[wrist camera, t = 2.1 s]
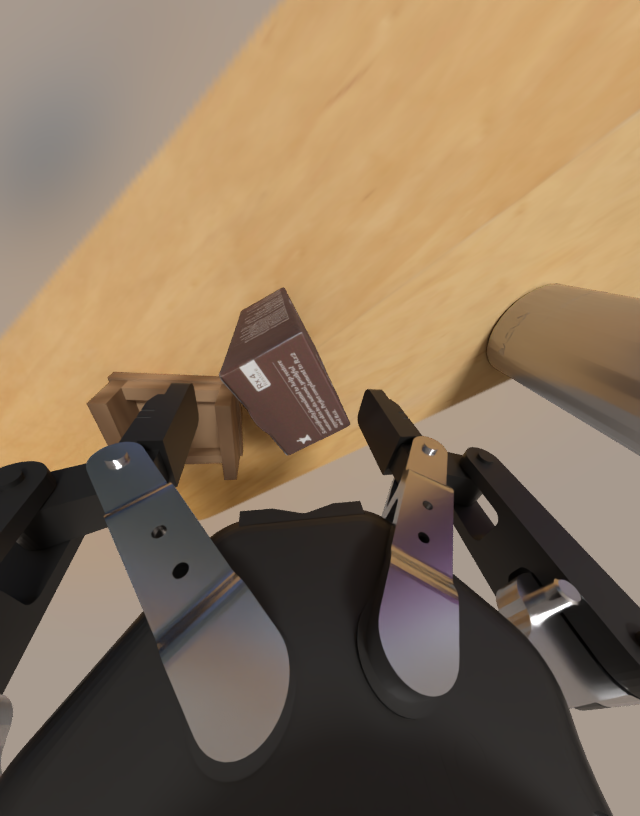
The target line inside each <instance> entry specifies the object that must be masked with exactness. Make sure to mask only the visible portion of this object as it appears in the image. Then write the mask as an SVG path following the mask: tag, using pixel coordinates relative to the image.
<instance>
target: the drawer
mask: <svg viewBox="0 0 640 816" xmlns="http://www.w3.org/2000/svg"><path fill="white" fill-rule="evenodd" d="M108 380H109V383H108V384H107V385H106V386H105V387H104V388H103V389H101V390H100V391H99V392H98V393H97V394H96V395H95V396H94V397H93V398H92V399H91V400H90V401H89V402H88V403H87V405H88V407H89V409H90V411H91V413H92V415H93V417H94V419H95V421H96V423H97V425H98V427H99V429H100V431H101V433H102V435H103V437H104V439H105V441H106V443H107V445H108V446H109V445H112V444H115V443H119V441H120V440H121V438H122V437H123V435H124V434H125V432H126V431H127V430H128V428H129V427H130V425H131V424H132V422H133V421H134V419H135V418H137V415H138V413H139V412H140V411H141V409H142V408H143V406H144V405H145V403H146V402H147V401H148V400H149V399H151V398H152V397H154V396H155V395H157V394H165V393H166V391H167V389H168V388H169V386H170V384H171V383H192V384H193V386H194V390H195V396H196V401H197V407H198V413H199V422H198V427H197V430H196V433H195V436H194V439H193V442H192V444H191V447H190V450H189V453H188V456H187V459H186V462H185V464H207V463H222V465H223V472H224V480H235V479H237V474H238V467H239V459H240V456H242V455H243V438H242V421H241V404H240V401H239V400H238V399H237V398H236V397H235V396H234V394H233V393H232V392H231V391H230V390H229V389H228V388H227V386H226V385H225V384H224V383H223V382H222V381H221V379H220V377H217V376H194V375H170V374H147V373H124V372H113V373H112V374H111V375H110V376H109V377H108Z"/></svg>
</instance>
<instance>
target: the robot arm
mask: <svg viewBox="0 0 640 816" xmlns="http://www.w3.org/2000/svg"><path fill="white" fill-rule="evenodd" d="M487 356H488V360H489V362H490V364H491V365H492V366H493V367H494V368H496V369H497V370H499V371H501V372H502V373H504V374H506V375H507V376H509V377H511V378H512V379H514V380H515V381H517V382H519V383H521V384H522V385H523V386H525V387H527V388H529V389H530V390H532V391H533V392H535V393H537V394H538V395H540V396H542V397H543V398H545V399H547V400H548V401H550V402H551V403H553V404H555V405H557V406H558V407H560V408H561V409H563V410H565V411H566V412H568V413H570V414H572V415H573V416H575V417H576V418H578V419H580V420H581V421H583V422H585V423H586V424H588V425H590V426H591V427H593V428H595V429H596V430H598V431H600V432H601V433H603V434H604V435H606V436H608V437H610V438H611V439H613V440H614V441H616V442H618V443H620V444H621V445H623V446H624V447H626V448H628V449H629V450H631V451H633V452H634V453H636V454H637V455H639V456H640V299H639V298H634V297H628V296H622V295H617V294H611V293H607V292H601V291H596V290H590V289H584V288H578V287H573V286H567V285H561V284H549V285H545V286H542V287H539V288H537V289H535V290H533V291H531V292H529V293H527V294H526V295H525V296H523V297H522V298H520V299H519V300H518V301H516V302H515V303H514V304H513V305H512V306H511V307H510V308H509V309H508V310H507V311H506V312H505V314H504V315H503V316H502V317H501V318H500V320H499V321H498V323H497V324H496V326H495V327H494V329H493V332H492V334H491V336H490V338H489V342H488V346H487ZM198 422H199V413H198V407H197V401H196V396H195V390H194V386H193V384H192V383H171V384H170V386H169V388H168V389H167V391H166V393H165V394H157V395H155V396H154V397H152V398H151V399H149V400H148V401H147V402H146V403H145V405H144V406H143V408H142V409H141V411H140V412H139V413H138V415H137V418H135V419H134V421H133V422H132V424H131V425H130V427H129V428H128V430H127V431H126V432H125V434H124V435H123V437H122V438H121V440H120V441H119V443H115V444H112V445H109V446H106V447H104V448H102V449H100V450H99V451H97V452H96V453H94V454H93V455H92V456H91V457H90V458H89V460H88V461H87V463H86V464H82V465H78V466H74V467H69V468H65V469H60V470H56V471H52V472H50V471H49V469H48V468H47V467H46V466H45V465H44V464H43V463H40V462H35V461H27V462H19V463H15V464H11V465H7V466H4V467H2V468H0V816H613V815H612V813H611V810H610V808H609V806H608V804H607V802H606V800H605V798H604V796H603V794H602V792H601V790H600V787H599V785H598V783H597V781H596V779H595V776H594V774H593V772H592V769H591V767H590V765H589V762H588V760H587V758H586V755H585V752H584V750H583V747H582V745H581V742H580V740H579V737H578V734H577V731H576V728H575V725H574V722H573V719H572V716H571V713H570V710H569V709H570V708H575V709H578V710H593V709H602V708H611V707H621V706H630V705H639V704H640V608H639V607H638V605H637V604H636V603H635V602H634V601H633V600H632V599H631V598H630V597H629V596H628V595H627V594H626V593H625V592H624V591H623V590H622V589H621V588H620V587H619V586H618V585H617V584H616V582H615V581H614V580H613V579H612V578H611V577H610V576H609V575H608V574H607V573H606V572H605V571H604V570H603V569H602V568H601V567H600V566H599V565H598V563H597V562H596V561H595V560H594V559H593V558H592V557H591V556H590V555H589V554H588V553H587V552H586V551H585V550H584V549H583V548H582V547H581V546H580V545H579V544H578V543H577V541H576V540H575V539H574V538H573V537H572V536H571V535H570V534H569V533H568V532H567V531H566V530H565V529H564V528H563V527H562V526H561V525H560V524H559V523H558V522H557V520H556V519H554V517H553V516H552V515H551V514H550V513H549V512H548V511H547V510H546V509H545V508H544V507H543V506H542V505H541V504H540V503H539V502H538V501H537V500H536V498H535V497H534V496H533V495H532V494H531V493H530V492H529V491H528V490H527V489H526V488H525V487H524V486H523V485H522V484H521V483H520V482H519V481H518V480H517V478H516V477H515V476H514V475H513V474H512V473H511V472H510V471H509V470H508V469H507V468H506V467H505V466H504V465H503V464H502V463H501V462H500V461H499V460H498V459H497V458H496V457H495V456H494V455H492V454H490V453H489V452H487V451H485V450H483V449H480V448H474V447H471V448H469V449H467V450H466V452H465V453H464V454H463V455H459V454H454V453H449V452H447V451H446V449H445V448H444V446H443V445H442V444H440V443H439V442H438V441H436V440H434V439H432V438H429V437H424V436H422V435H421V434H420V433H419V431H418V430H417V428H416V427H415V426H414V424H413V423H412V422H411V421H410V419H408V417H407V415H406V414H405V413H404V411H403V410H402V409H401V408H400V406H399V405H398V404H396V403H395V402H394V401H392V400H391V399H389V398H388V397H387V396H386V394H385V393H384V392H383V390H373V389H367V390H366V391H365V393H364V396H363V400H362V403H361V406H360V410H359V413H358V424H359V427H360V429H361V431H362V433H363V435H364V437H365V439H366V441H367V443H368V445H369V447H370V450H371V452H372V453H373V456H374V458H375V460H376V462H377V464H378V466H379V468H380V470H381V472H382V474H383V475H391V474H393V476H394V479H393V481H392V485H391V487H390V491H389V494H388V498H387V501H386V504H385V507H384V511H383V514H382V516H379V515H377V514H374V513H372V512H368V511H364V510H363V508H362V505H361V503H360V501H355V502H344V503H333V504H330V505H328V506H325V507H322V508H319V509H317V510H314V511H311V512H308V513H296V512H290V511H284V510H277V509H264V510H251V511H240V518H239V522H236V523H234V524H231V525H229V526H227V527H225V528H223V529H222V530H220V531H219V532H217V533H215V534H214V535H213V536H211V537H209V536H208V534H207V533H206V532H205V530H204V528H203V527H202V526H201V524H200V523H199V521H198V520H197V518H196V517H195V515H194V514H193V513H192V511H191V510H190V508H189V507H188V505H187V504H186V502H185V501H184V500H183V498H182V497H181V495H180V494H179V492H178V491H177V489H176V488H175V487H177V486H178V483H179V480H180V477H181V474H182V471H183V468H184V465H185V462H186V459H187V456H188V453H189V450H190V447H191V444H192V442H193V439H194V436H195V433H196V430H197V427H198ZM482 494H483V495H484V496H485V497H486V499H487V500H488V501H489V503H490V504H491V505H492V506H493V508H494V509H495V511H496V512H497V515H498V523H497V525H496V526H494V524H493V523H492V522H491V520H490V519H489V518H488V516H487V515H486V513H485V512H484V511H483V509H482V508H481V506H480V505H479V504H478V502H477V499H478V498H479V497H480V496H481V495H482ZM453 524H454V526H455V528H456V530H457V531H458V533H459V535H460V536H461V538H462V540H463V541H464V543H465V545H466V546H467V548H468V550H469V552H470V553H471V555H472V557H473V558H474V560H475V562H476V564H477V565H478V567H479V569H480V570H481V572H482V574H483V576H484V577H485V579H486V581H487V582H488V584H489V586H490V588H491V589H492V591H493V593H494V594H495V596H496V602H497V606H498V609H499V611H497V610H496V609H495V608H493V607H492V606H491V605H490V604H489V603H487V602H486V601H485V600H484V599H483V598H481V597H480V596H479V595H478V594H477V593H475V592H474V591H473V590H472V589H470V588H469V587H468V586H467V585H466V584H465V583H463V582H462V581H461V580H459V578H457V577H456V576H455V575H454V574H453ZM107 527H108V529H109V531H110V533H111V535H112V538H113V540H114V543H115V545H116V548H117V550H118V552H119V555H120V557H121V559H122V562H123V564H124V566H125V569H126V571H127V573H128V576H129V578H130V580H131V583H132V585H133V588H134V590H135V592H136V594H137V597H138V599H139V602H140V604H141V606H142V609H143V612H142V613H141V614H140V615H139V617H138V618H137V619H136V620H135V621H134V622H133V623H132V624H131V626H130V627H129V628H128V629H127V630H126V631H125V633H124V634H123V635H122V636H121V637H120V638H119V639H118V640H117V642H116V643H115V644H114V645H113V646H112V647H111V649H109V651H108V652H107V653H106V654H105V655H104V656H103V658H102V659H101V660H100V661H99V662H98V663H97V664H96V665H95V667H94V668H93V669H92V670H91V671H90V672H89V673H88V675H87V676H86V677H85V678H84V679H83V680H82V681H81V683H80V684H79V685H78V686H77V687H76V688H75V689H74V690H73V692H72V693H71V694H70V695H69V696H68V697H67V698H66V700H65V701H64V702H63V703H62V704H61V705H60V706H59V707H58V709H57V710H56V711H55V712H54V713H53V714H52V715H51V717H50V718H49V719H48V720H47V721H46V722H45V723H44V725H43V726H42V727H41V728H40V729H39V730H38V731H37V732H36V734H35V735H34V736H33V737H32V738H31V739H30V740H29V742H28V743H27V744H26V745H25V746H24V747H23V748H22V750H21V751H20V752H19V753H18V754H17V756H16V757H15V758H14V759H13V761H12V762H11V763H10V765H9V766H8V767H7V769H6V770H5V771H4V773H3V774H2V771H1V755H2V750H3V747H4V744H5V741H6V737H7V734H8V732H9V729H10V726H11V722H12V717H13V708H12V703H11V701H10V700H9V699H8V698H7V697H6V696H4V695H2V694H3V692H4V690H5V688H6V686H7V684H8V683H9V681H10V679H11V677H12V675H13V673H14V671H15V669H16V667H17V665H18V663H19V661H20V659H21V658H22V656H23V653H24V652H25V650H26V648H27V646H28V644H29V642H30V640H31V638H32V636H33V634H34V632H35V630H36V628H37V626H38V625H39V623H40V621H41V619H42V617H43V615H44V613H45V611H46V609H47V607H48V605H49V603H50V601H51V600H52V598H53V596H54V594H55V592H56V590H57V588H58V586H59V584H60V582H61V580H62V578H63V576H64V575H65V572H66V570H67V568H68V567H69V565H70V563H71V561H72V559H73V557H74V555H75V553H76V551H77V549H78V547H79V546H80V544H81V542H82V539H83V538H84V536H85V535H86V534H89V533H92V532H95V531H98V530H101V529H104V528H107Z"/></svg>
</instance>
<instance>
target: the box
mask: <svg viewBox="0 0 640 816" xmlns="http://www.w3.org/2000/svg"><path fill="white" fill-rule="evenodd" d="M219 377H220V379H221V381H222V382H223V383H224V384H225V385H226V386H227V388H228V389H229V390H230V391H231V392H232V393H233V394H234V396H235V397H236V398H237V399H238V400H239V401H240V402H241V403H242V404H243V405H244V407H245V408H246V409H247V410H248V412H249V414H250V416H251V418H252V419H253V421H254V422H255V423H256V424H257V425H258V427H260V428H261V429H262V430H263V431H265V432H266V433H268V434H269V435H270V436H271V438H272V439H273V440H274V441H275V442H276V443H277V445H278V446H279V447H280V448H281V449H282V450H283V452H284V453H285V454H286V455H291V454H293V453H295V452H297V451H299V450H301V449H303V448H305V447H307V446H309V445H311V444H313V443H315V442H317V441H319V440H322V439H324V438H326V437H328V436H330V435H332V434H334V433H336V432H338V431H340V430H342V429H344V428H346V427H348V426H349V425H350V422H349V419H348V417H347V415H346V413H345V411H344V408H343V406H342V404H341V402H340V400H339V397H338V395H337V393H336V391H335V389H334V387H333V385H332V383H331V381H330V378H329V376H328V374H327V372H326V369H325V367H324V365H323V362H322V360H321V358H320V356H319V354H318V352H317V350H316V347H315V345H314V344H313V342H312V340H311V338H310V336H309V334H308V332H307V331H306V329H305V327H304V325H303V323H302V321H301V319H300V317H299V315H298V313H297V311H296V309H295V307H294V305H293V303H292V302H291V300H290V298H289V296H288V294H287V291H286V290H285V288H281V289H279V290H277V291H275V292H274V293H272V294H270V295H268V296H267V297H265V298H263V299H261V300H260V301H258V302H256V303H254V304H253V305H251V306H249V307H247V308H246V309H244V310H242V311H241V313H240V317H239V320H238V323H237V326H236V328H235V332H234V335H233V337H232V340H231V343H230V346H229V349H228V352H227V355H226V357H225V360H224V363H223V366H222V368H221V371H220V373H219Z"/></svg>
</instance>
